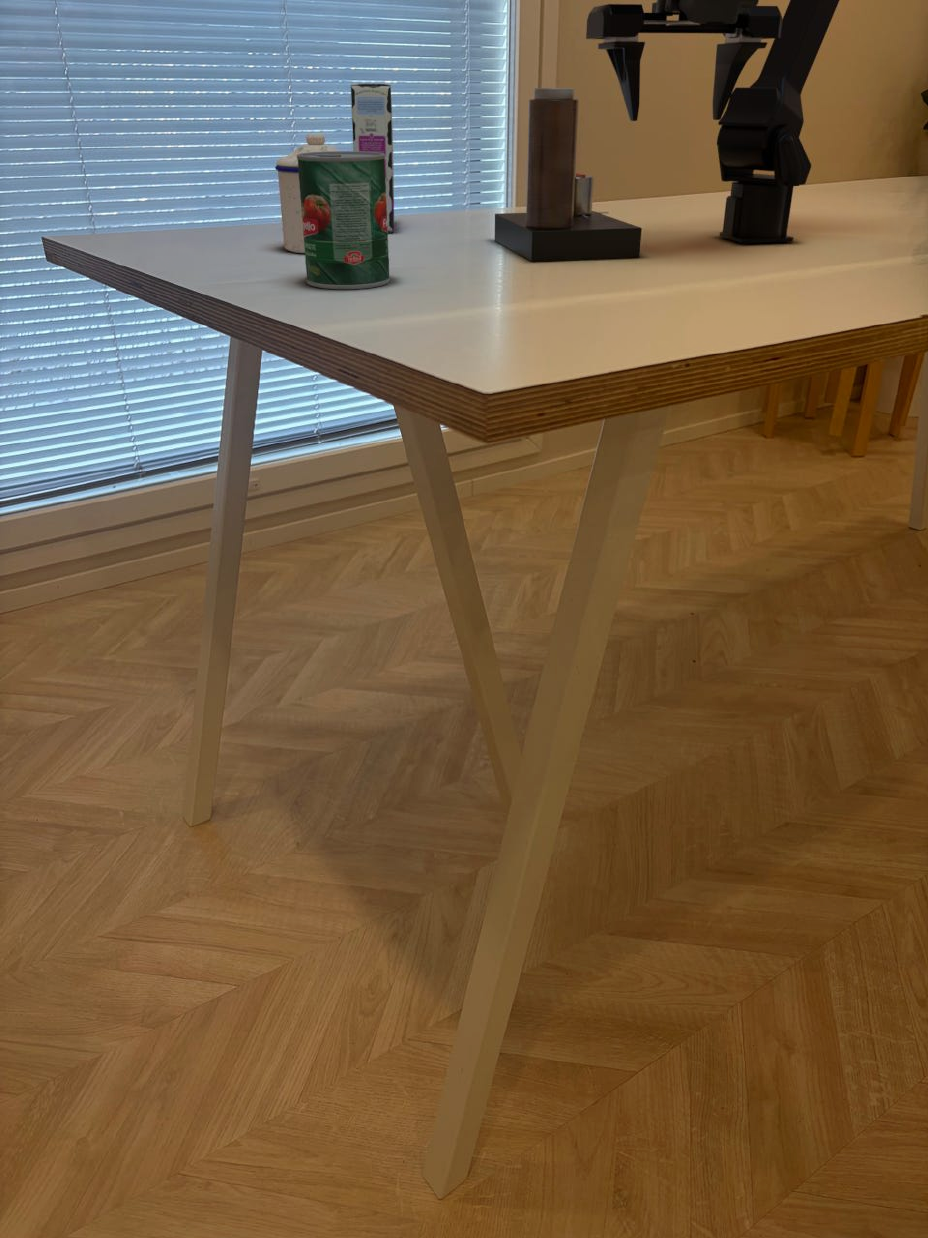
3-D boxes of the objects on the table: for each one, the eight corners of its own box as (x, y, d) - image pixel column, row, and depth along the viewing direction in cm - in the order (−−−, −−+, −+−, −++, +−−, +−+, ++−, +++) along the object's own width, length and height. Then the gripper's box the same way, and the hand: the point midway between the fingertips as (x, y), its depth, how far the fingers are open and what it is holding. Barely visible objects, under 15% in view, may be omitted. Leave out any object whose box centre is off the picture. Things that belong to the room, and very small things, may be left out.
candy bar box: (396, 233, 123) (391, 83, 115) (356, 233, 123) (348, 83, 115) (394, 221, 133) (390, 82, 125) (357, 222, 133) (350, 83, 125)
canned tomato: (407, 281, 94) (403, 153, 89) (341, 292, 89) (333, 157, 84) (354, 271, 99) (348, 149, 94) (289, 281, 94) (278, 153, 89)
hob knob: (556, 212, 116) (558, 172, 114) (585, 211, 117) (587, 171, 115) (566, 215, 113) (567, 174, 111) (596, 214, 114) (598, 174, 112)
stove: (595, 235, 121) (597, 207, 119) (647, 257, 106) (650, 225, 105) (492, 239, 118) (492, 211, 117) (531, 261, 104) (532, 229, 102)
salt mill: (575, 223, 108) (581, 87, 102) (569, 229, 104) (576, 88, 97) (529, 222, 109) (533, 87, 103) (522, 228, 105) (525, 88, 98)
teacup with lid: (357, 254, 108) (350, 136, 103) (274, 254, 109) (263, 136, 103) (371, 239, 119) (366, 130, 113) (296, 238, 119) (287, 130, 114)
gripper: (630, -75, 87) (617, 124, 94) (823, -70, 90) (796, 121, 98) (588, -60, 96) (580, 120, 104) (765, -56, 100) (744, 118, 107)
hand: (675, 120), depth 103 cm, fingers open, 9 cm apart
